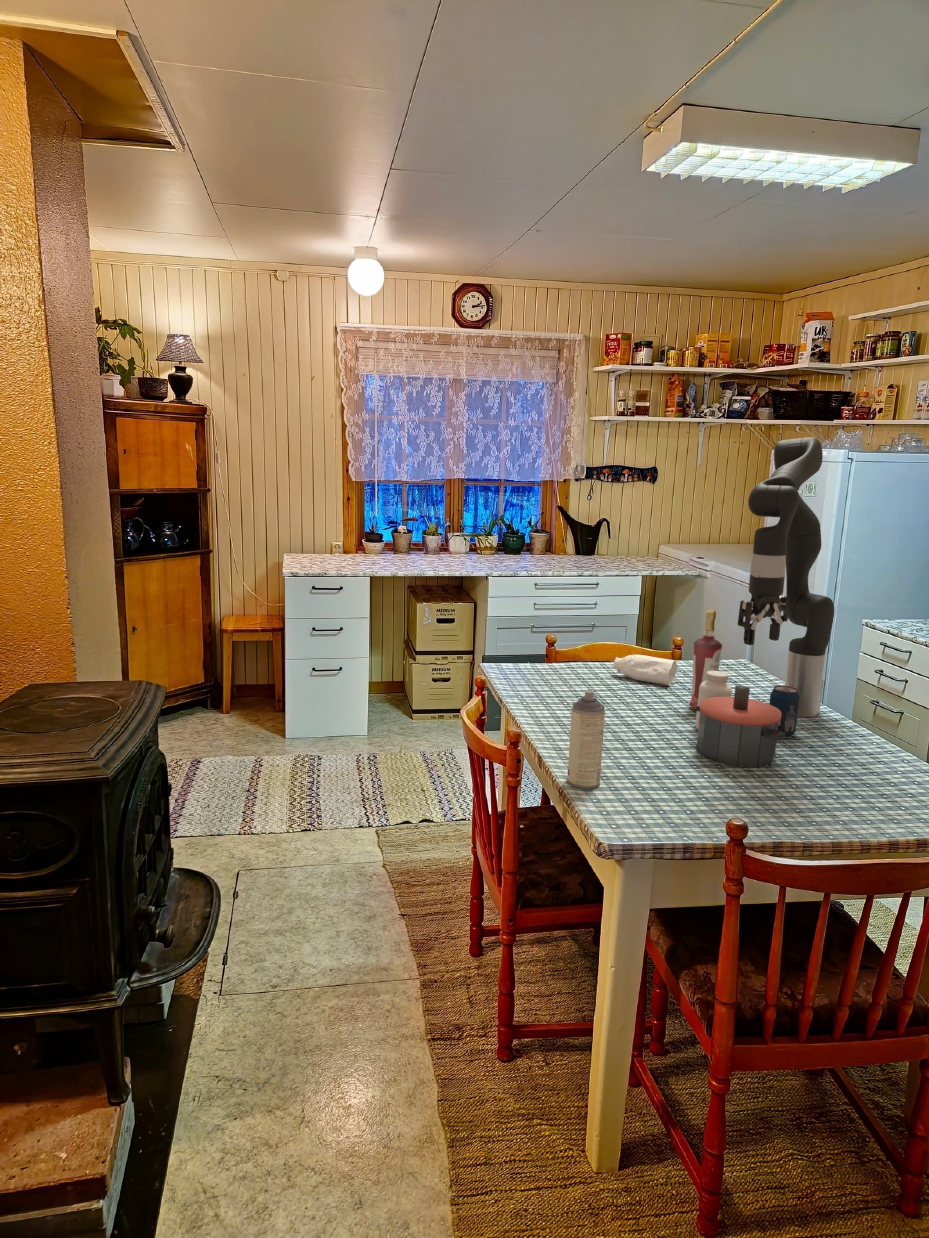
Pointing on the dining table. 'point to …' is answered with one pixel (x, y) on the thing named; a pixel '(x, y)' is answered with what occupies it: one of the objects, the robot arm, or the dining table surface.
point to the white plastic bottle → (647, 668)
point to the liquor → (705, 656)
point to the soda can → (786, 708)
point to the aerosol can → (586, 742)
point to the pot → (737, 742)
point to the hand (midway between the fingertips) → (761, 642)
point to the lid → (740, 709)
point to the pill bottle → (713, 688)
